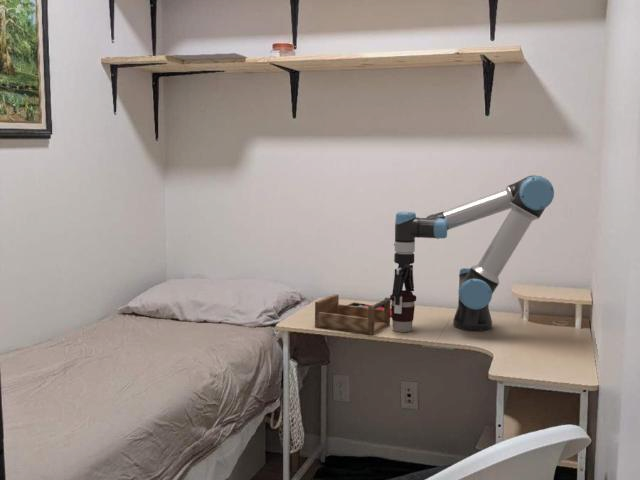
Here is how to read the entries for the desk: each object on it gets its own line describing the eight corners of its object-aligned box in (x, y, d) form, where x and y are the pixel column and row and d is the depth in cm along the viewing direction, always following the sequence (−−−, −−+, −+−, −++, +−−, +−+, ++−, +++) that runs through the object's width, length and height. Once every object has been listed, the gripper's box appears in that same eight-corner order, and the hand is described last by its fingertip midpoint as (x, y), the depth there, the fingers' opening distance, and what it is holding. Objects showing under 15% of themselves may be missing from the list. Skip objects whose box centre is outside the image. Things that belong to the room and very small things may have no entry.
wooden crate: (389, 325, 274) (390, 297, 273) (372, 335, 258) (372, 306, 257) (334, 318, 285) (335, 291, 284) (314, 327, 269) (315, 299, 268)
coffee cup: (414, 327, 271) (415, 289, 269) (415, 334, 261) (416, 294, 259) (389, 326, 272) (390, 288, 270) (389, 333, 262) (390, 293, 260)
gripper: (405, 248, 275) (403, 304, 277) (384, 255, 255) (382, 315, 257) (423, 250, 271) (421, 306, 274) (403, 257, 251) (401, 317, 254)
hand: (402, 310), depth 266 cm, fingers closed on coffee cup, 10 cm apart
